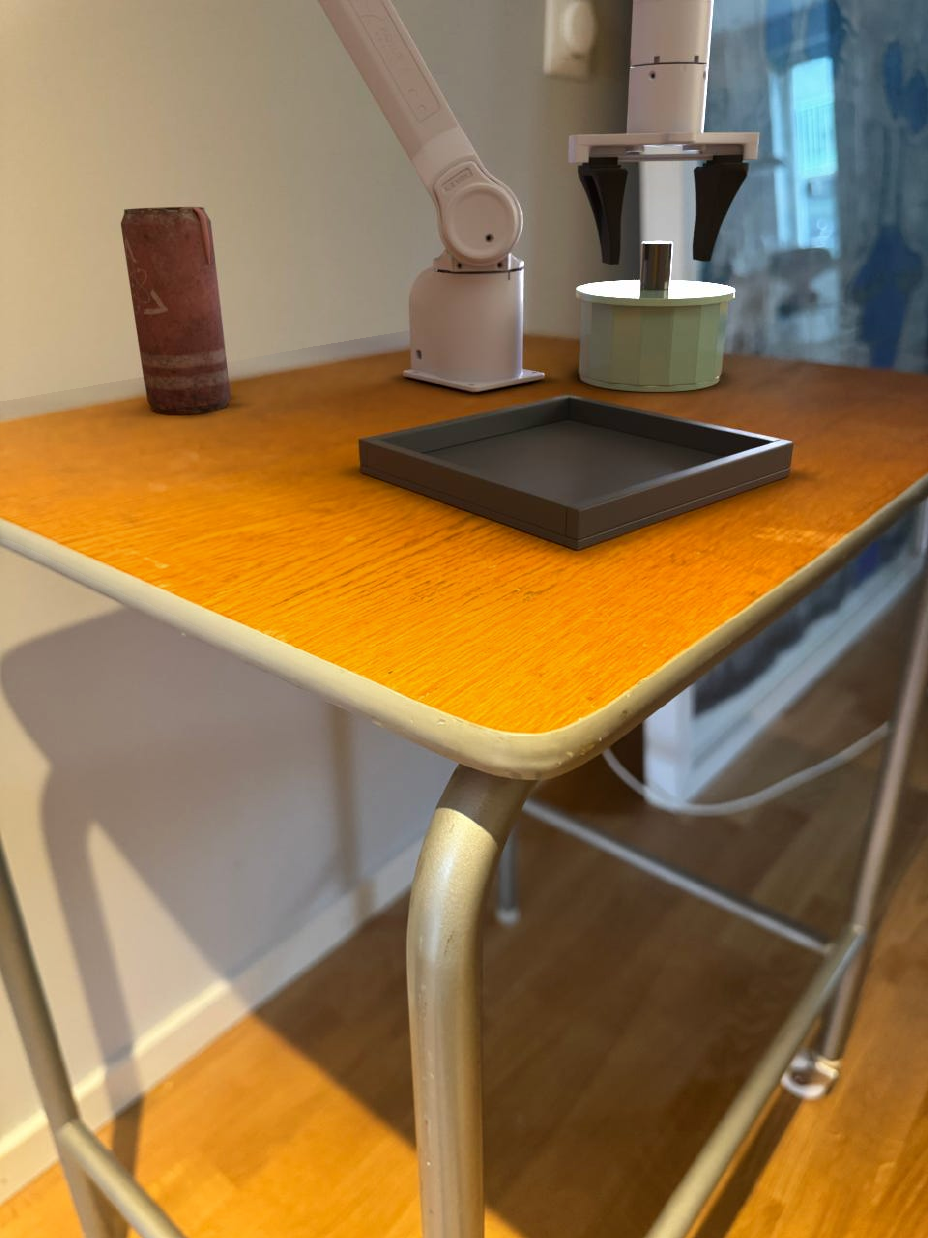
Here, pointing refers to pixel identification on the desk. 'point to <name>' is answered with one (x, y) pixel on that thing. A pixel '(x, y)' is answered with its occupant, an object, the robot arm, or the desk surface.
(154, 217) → the can
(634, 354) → the pot
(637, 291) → the lid
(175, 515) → the desk surface
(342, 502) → the desk surface
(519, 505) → the tray
